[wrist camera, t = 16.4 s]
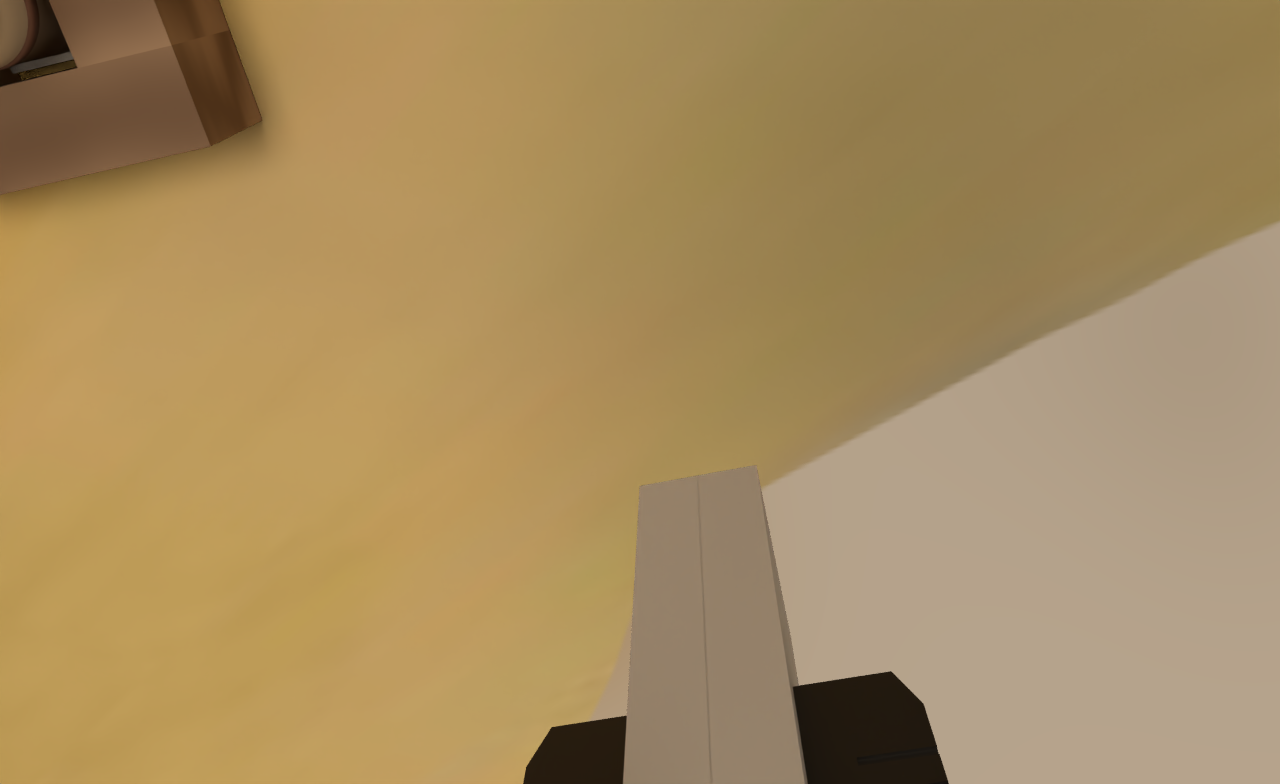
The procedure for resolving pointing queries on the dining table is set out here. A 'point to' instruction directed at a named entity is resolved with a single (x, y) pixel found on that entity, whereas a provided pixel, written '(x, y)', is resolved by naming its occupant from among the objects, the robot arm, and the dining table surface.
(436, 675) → the dining table surface
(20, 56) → the peg
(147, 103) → the socket block
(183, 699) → the dining table surface
